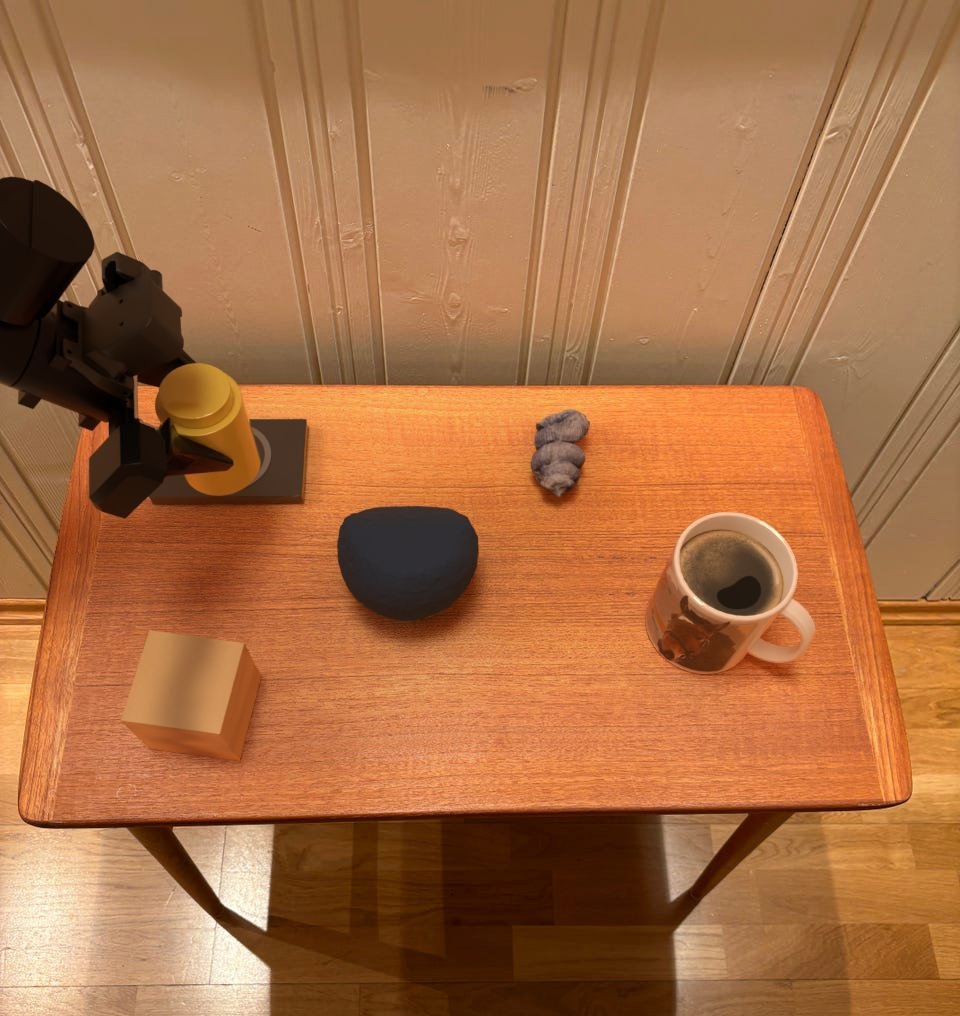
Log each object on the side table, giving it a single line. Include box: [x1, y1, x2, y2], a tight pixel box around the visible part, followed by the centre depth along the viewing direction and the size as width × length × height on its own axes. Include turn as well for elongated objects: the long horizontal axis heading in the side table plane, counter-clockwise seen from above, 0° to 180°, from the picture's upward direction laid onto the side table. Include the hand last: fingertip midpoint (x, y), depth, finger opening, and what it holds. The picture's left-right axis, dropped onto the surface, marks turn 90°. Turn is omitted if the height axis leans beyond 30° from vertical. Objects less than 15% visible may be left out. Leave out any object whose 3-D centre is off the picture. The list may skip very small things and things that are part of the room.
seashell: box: [530, 408, 591, 498], centre depth 83 cm, size 5×5×10 cm
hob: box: [148, 418, 309, 505], centre depth 83 cm, size 14×9×1 cm, turn 92°
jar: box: [154, 362, 261, 496], centre depth 68 cm, size 6×6×9 cm
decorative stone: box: [336, 505, 480, 623], centre depth 74 cm, size 12×12×10 cm
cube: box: [120, 629, 262, 762], centre depth 70 cm, size 8×8×7 cm
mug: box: [644, 511, 816, 675], centre depth 73 cm, size 10×12×11 cm
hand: (227, 431), depth 69 cm, fingers closed on jar, 6 cm apart
